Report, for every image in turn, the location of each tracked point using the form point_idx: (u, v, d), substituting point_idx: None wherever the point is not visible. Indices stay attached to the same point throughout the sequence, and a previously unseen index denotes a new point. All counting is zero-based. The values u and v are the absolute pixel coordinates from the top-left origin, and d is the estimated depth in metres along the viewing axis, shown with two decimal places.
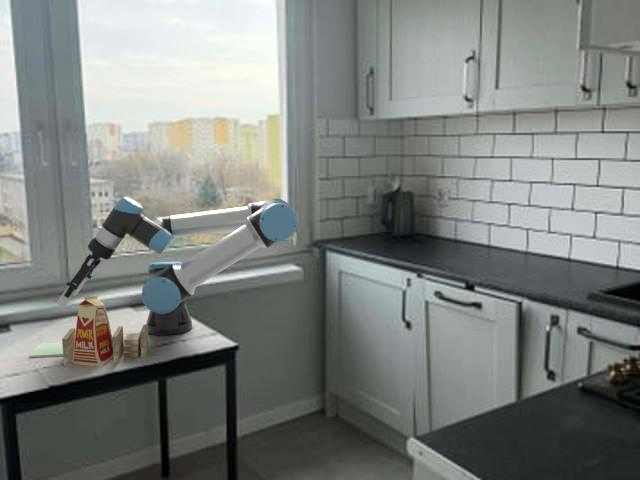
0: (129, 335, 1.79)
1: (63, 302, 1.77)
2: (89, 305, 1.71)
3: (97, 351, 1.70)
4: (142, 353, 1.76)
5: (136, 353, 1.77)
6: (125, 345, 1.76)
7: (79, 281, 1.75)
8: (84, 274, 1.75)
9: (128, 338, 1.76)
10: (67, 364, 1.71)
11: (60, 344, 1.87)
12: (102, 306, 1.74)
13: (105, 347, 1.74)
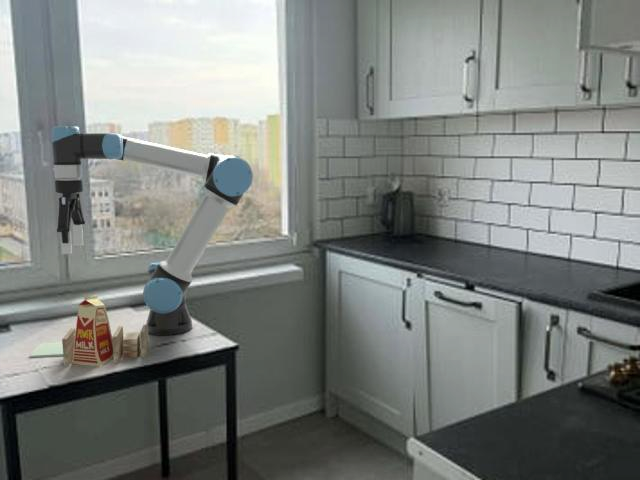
0: (128, 335, 1.80)
1: (67, 250, 1.74)
2: (89, 305, 1.71)
3: (97, 351, 1.70)
4: (142, 353, 1.76)
5: (135, 353, 1.77)
6: (124, 345, 1.76)
7: (65, 221, 1.70)
8: (65, 213, 1.71)
9: (127, 338, 1.77)
10: (67, 364, 1.71)
11: (60, 344, 1.87)
12: (102, 306, 1.74)
13: (105, 347, 1.74)
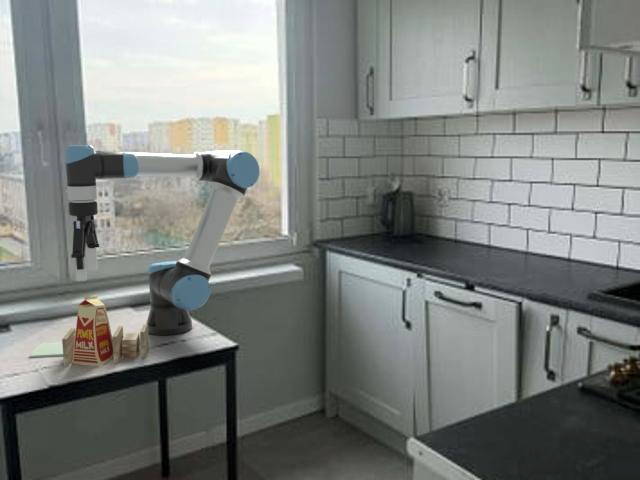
0: (127, 335, 1.79)
1: (82, 276, 1.64)
2: (89, 305, 1.71)
3: (97, 351, 1.70)
4: (142, 353, 1.76)
5: (134, 353, 1.77)
6: (123, 345, 1.76)
7: (80, 246, 1.61)
8: (80, 238, 1.61)
9: (126, 338, 1.76)
10: (67, 364, 1.71)
11: (60, 344, 1.87)
12: (102, 306, 1.74)
13: (105, 347, 1.74)
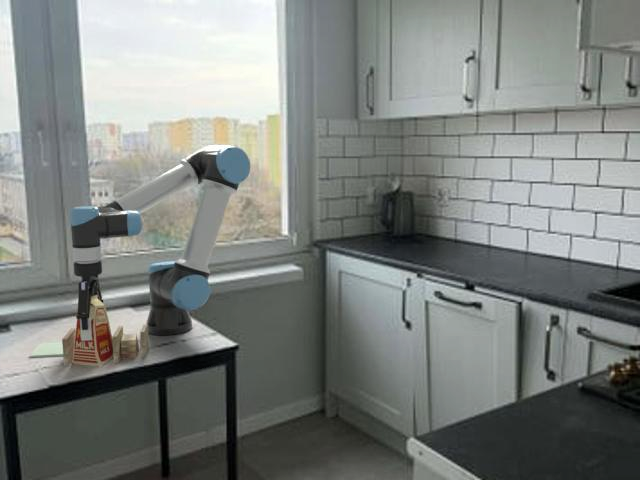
0: (126, 336, 1.79)
1: (87, 336, 1.67)
2: None
3: (97, 351, 1.70)
4: (142, 353, 1.76)
5: (134, 354, 1.77)
6: (122, 346, 1.75)
7: (85, 308, 1.64)
8: (85, 299, 1.64)
9: (125, 339, 1.76)
10: (67, 364, 1.71)
11: (60, 344, 1.87)
12: (102, 306, 1.74)
13: (105, 347, 1.74)
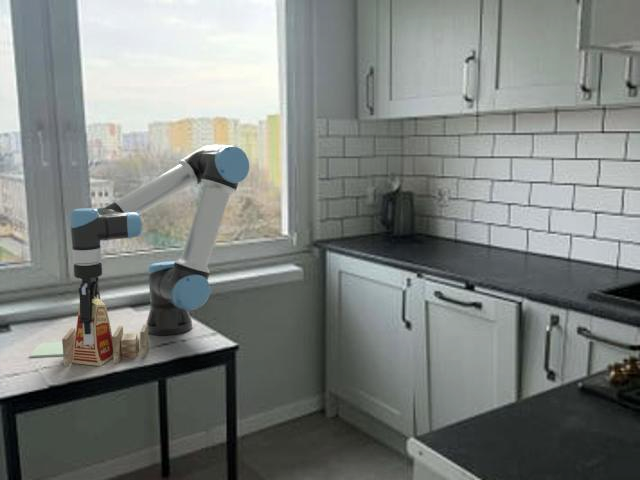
0: (126, 335, 1.80)
1: (90, 340, 1.70)
2: None
3: (97, 350, 1.70)
4: (142, 353, 1.76)
5: (134, 354, 1.77)
6: (122, 345, 1.76)
7: (87, 313, 1.66)
8: (87, 304, 1.66)
9: (125, 339, 1.77)
10: (67, 364, 1.71)
11: (60, 344, 1.87)
12: (103, 305, 1.74)
13: (105, 346, 1.74)
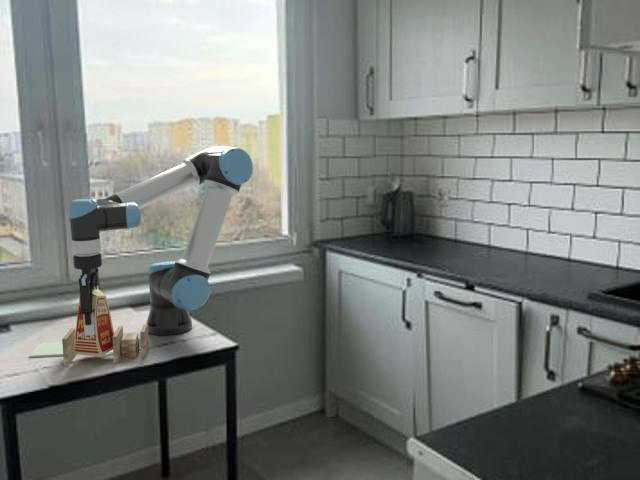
0: (126, 335, 1.80)
1: (90, 331, 1.69)
2: None
3: (98, 341, 1.70)
4: (142, 353, 1.76)
5: (134, 353, 1.76)
6: (122, 345, 1.76)
7: (87, 304, 1.65)
8: (87, 295, 1.65)
9: (126, 338, 1.77)
10: (67, 364, 1.71)
11: (60, 344, 1.87)
12: (103, 296, 1.74)
13: (106, 337, 1.74)
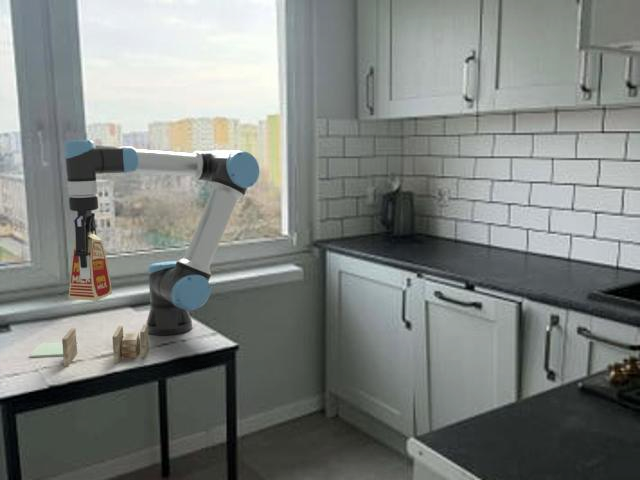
0: (127, 335, 1.79)
1: (86, 274, 1.66)
2: None
3: (94, 285, 1.67)
4: (142, 353, 1.76)
5: (134, 353, 1.76)
6: (123, 345, 1.76)
7: (83, 245, 1.62)
8: (82, 236, 1.62)
9: (126, 338, 1.76)
10: (67, 364, 1.71)
11: (60, 344, 1.87)
12: (99, 241, 1.71)
13: (102, 282, 1.71)
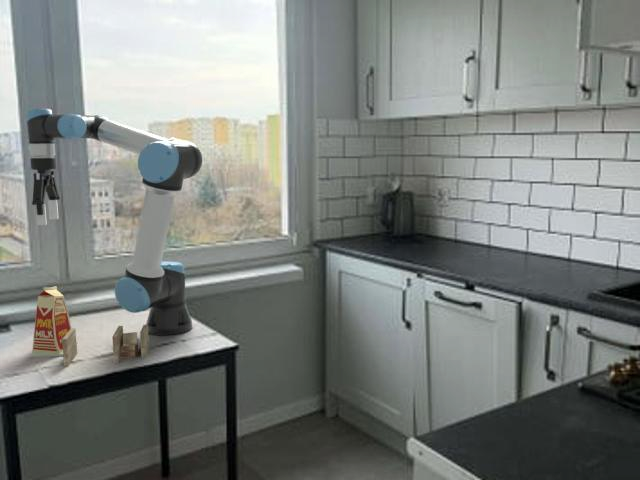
0: (126, 334, 1.80)
1: (42, 221, 1.91)
2: (48, 296, 1.79)
3: (56, 339, 1.78)
4: (142, 353, 1.76)
5: (133, 352, 1.77)
6: (124, 344, 1.76)
7: (39, 194, 1.87)
8: (40, 187, 1.88)
9: (127, 338, 1.77)
10: (67, 364, 1.71)
11: None
12: (61, 297, 1.82)
13: (64, 335, 1.82)
